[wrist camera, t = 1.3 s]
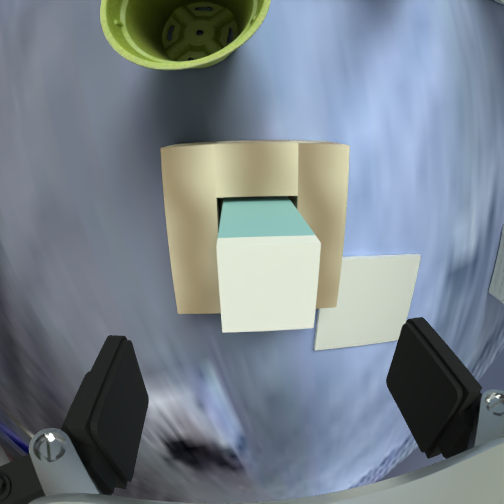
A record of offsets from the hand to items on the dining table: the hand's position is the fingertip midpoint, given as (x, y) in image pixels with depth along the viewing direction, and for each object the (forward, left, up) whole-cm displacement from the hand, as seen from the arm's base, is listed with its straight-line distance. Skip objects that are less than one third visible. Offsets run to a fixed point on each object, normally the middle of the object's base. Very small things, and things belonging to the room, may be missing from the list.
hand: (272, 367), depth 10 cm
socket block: (0, 0, -17) cm, 17 cm away
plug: (0, 0, -17) cm, 17 cm away
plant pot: (+4, -15, -17) cm, 23 cm away
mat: (-11, +9, -17) cm, 22 cm away
